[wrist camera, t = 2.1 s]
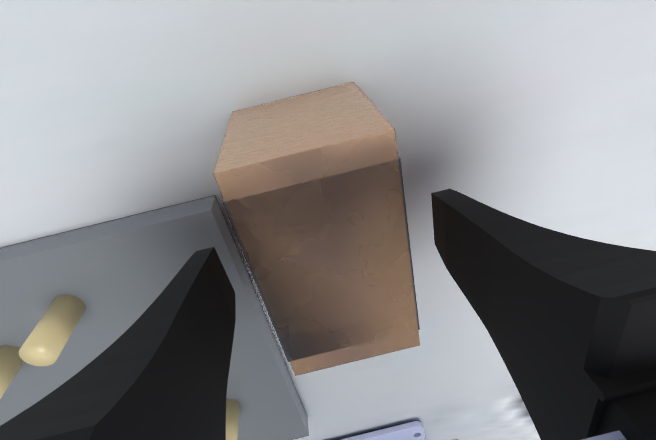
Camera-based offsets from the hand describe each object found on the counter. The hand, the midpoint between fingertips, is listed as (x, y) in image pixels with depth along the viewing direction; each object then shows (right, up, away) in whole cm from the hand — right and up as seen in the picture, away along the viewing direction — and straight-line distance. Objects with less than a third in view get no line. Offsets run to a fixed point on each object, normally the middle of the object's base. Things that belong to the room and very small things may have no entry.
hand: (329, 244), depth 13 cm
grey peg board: (-10, -6, +7) cm, 14 cm away
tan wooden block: (0, +2, +3) cm, 4 cm away
